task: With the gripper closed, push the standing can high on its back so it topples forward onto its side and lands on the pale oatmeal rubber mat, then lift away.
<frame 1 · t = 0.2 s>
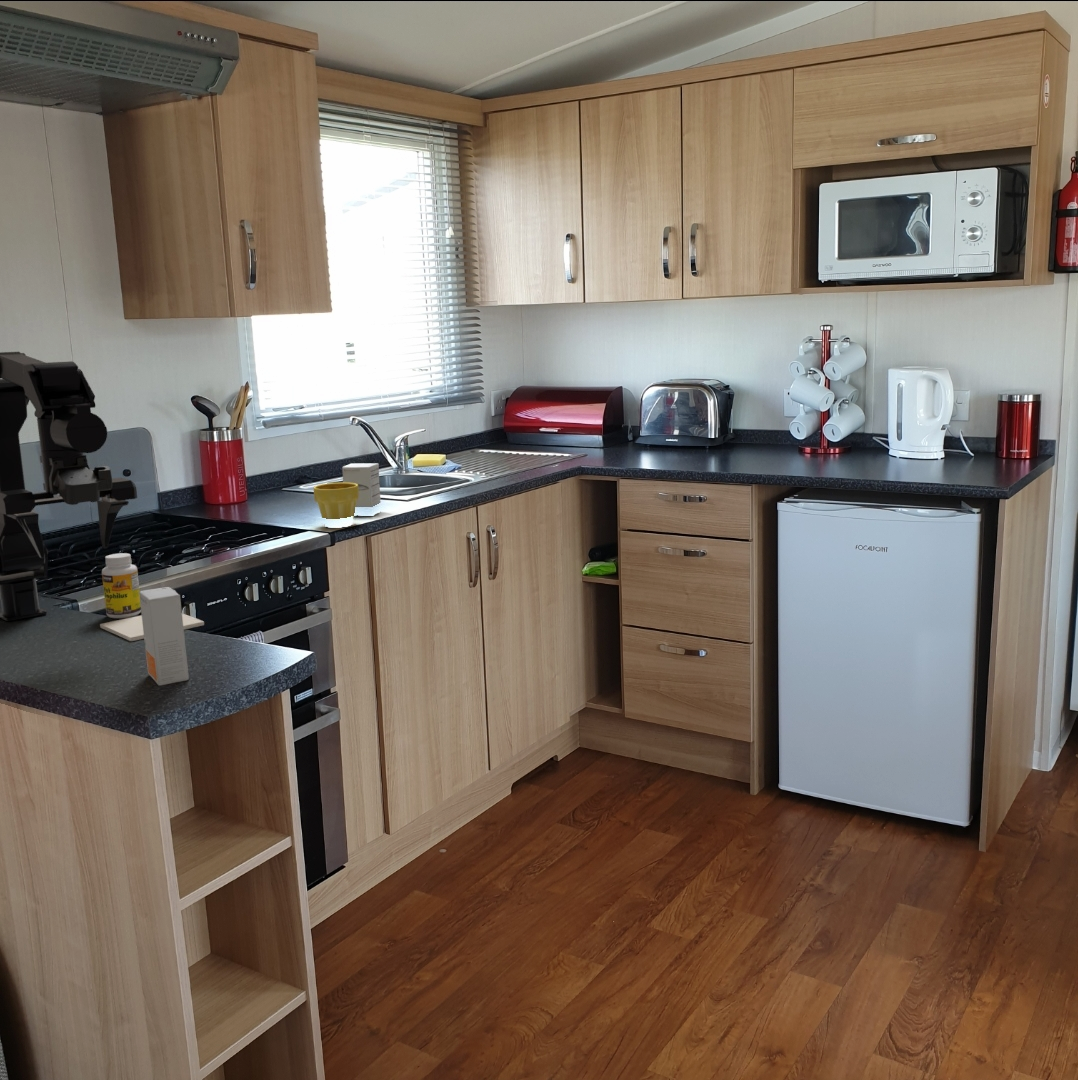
hand: (74, 552, 165), 14 cm above the worktop, fingers open, 9 cm apart
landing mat: (152, 626, 177), on the worktop
supplement bottle: (124, 616, 185), on the worktop
skincare box: (168, 679, 150), on the worktop
supplement box: (363, 515, 276), on the worktop
plant pot: (338, 527, 261), on the worktop
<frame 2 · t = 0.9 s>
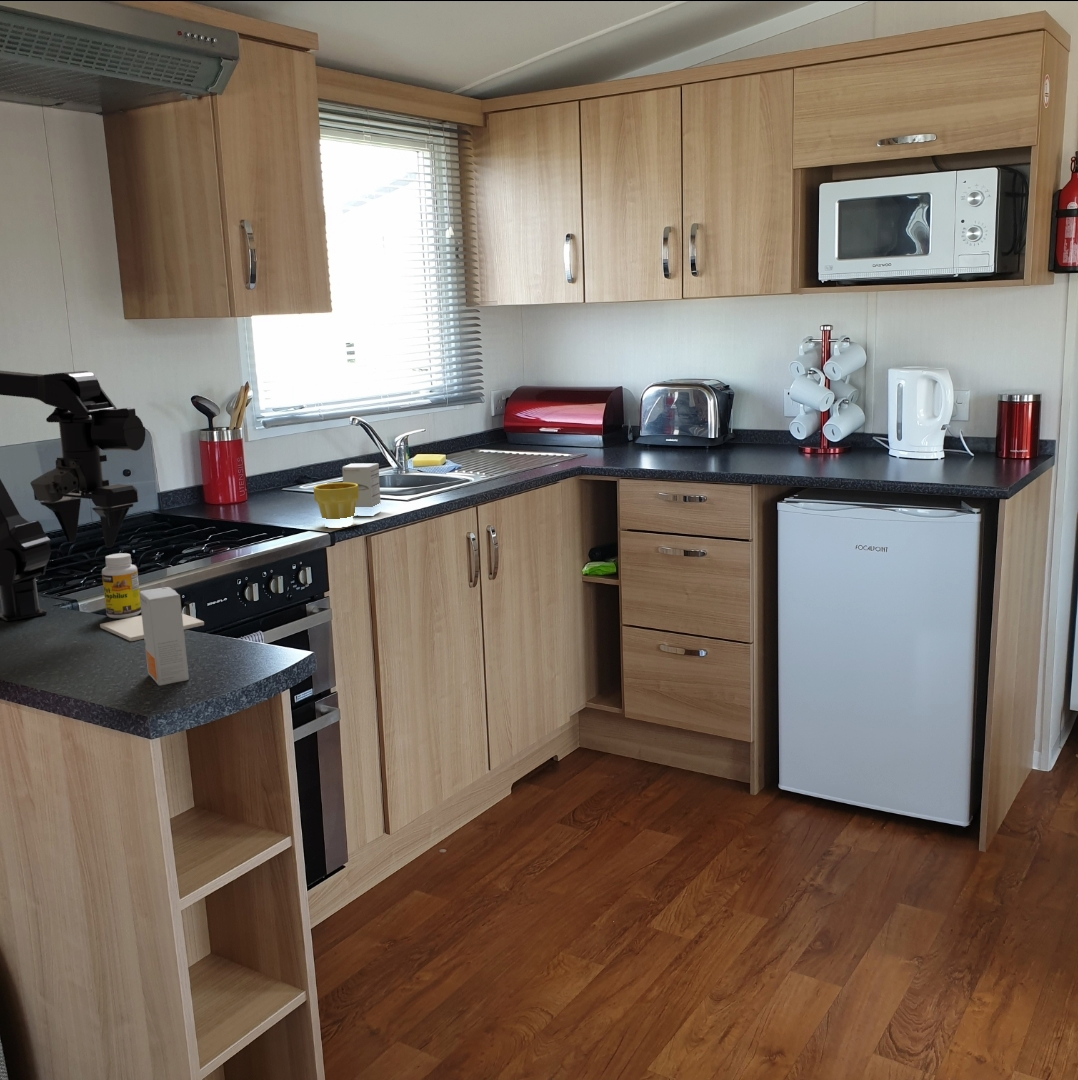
hand: (90, 544, 181), 12 cm above the worktop, fingers open, 9 cm apart
nothing on the worktop moved.
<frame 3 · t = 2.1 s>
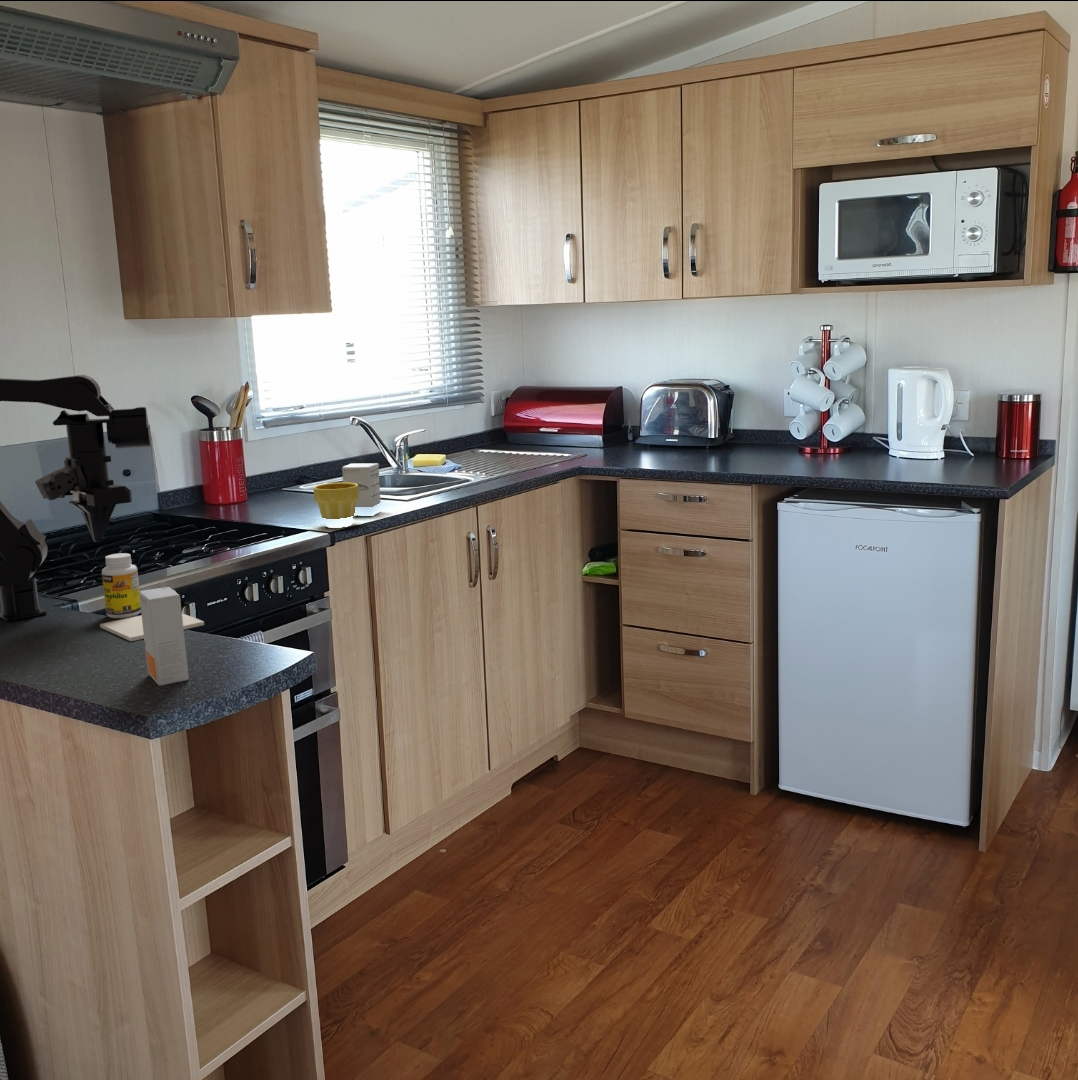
hand: (97, 541, 189), 12 cm above the worktop, fingers closed
nothing on the worktop moved.
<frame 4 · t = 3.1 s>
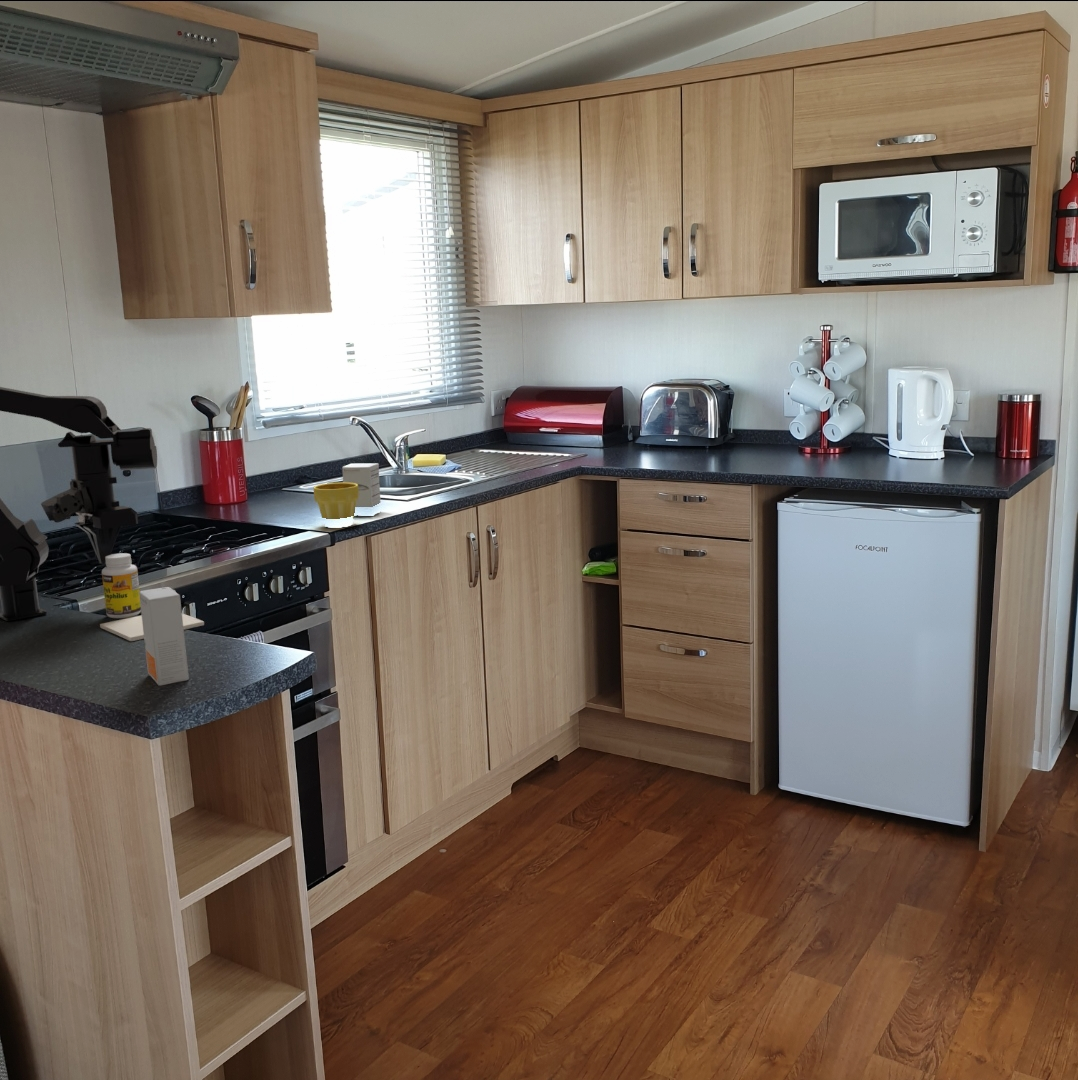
hand: (103, 562, 188), 8 cm above the worktop, fingers closed
nothing on the worktop moved.
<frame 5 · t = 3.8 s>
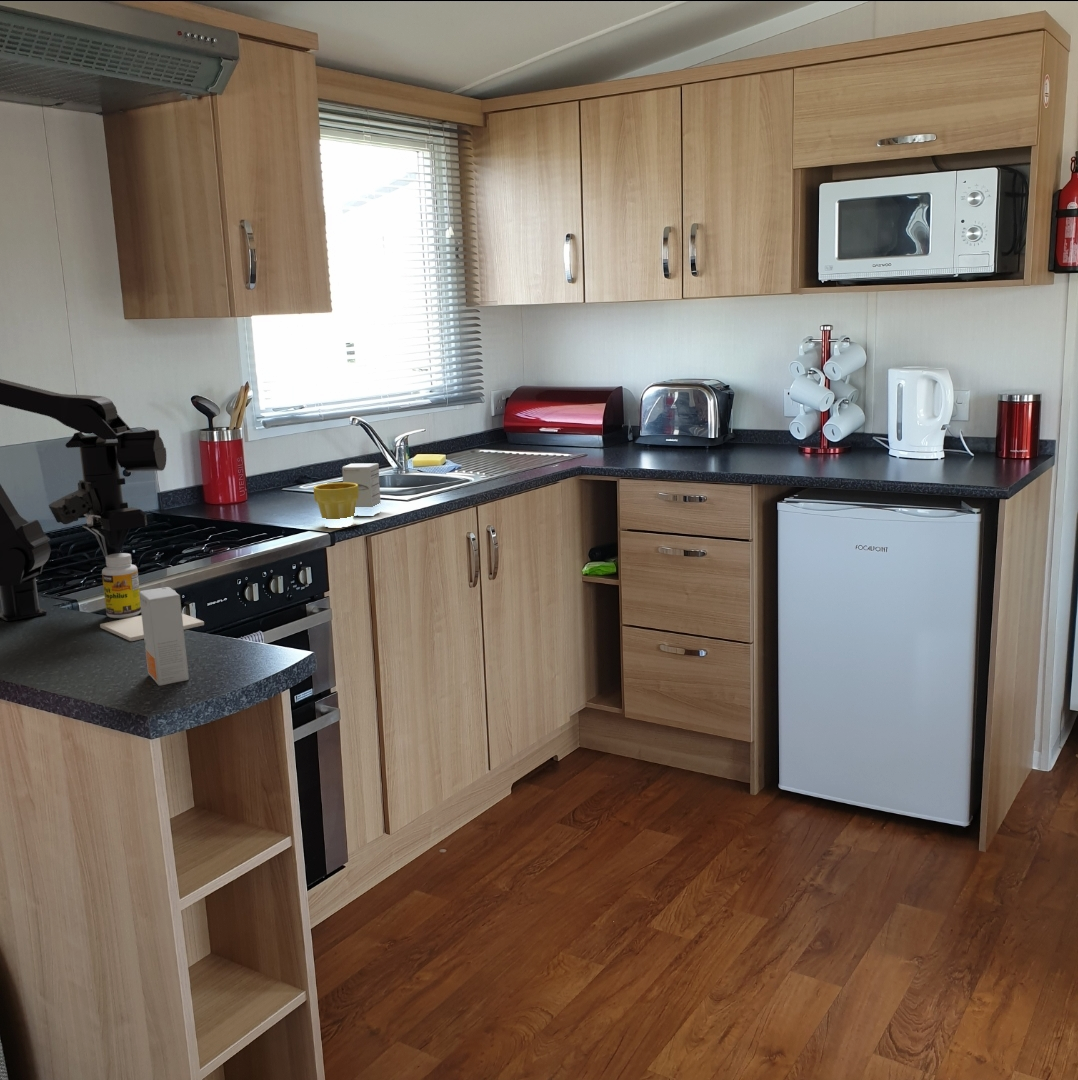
hand: (112, 565, 186), 8 cm above the worktop, fingers closed
supplement bottle: (124, 616, 185), on the worktop, touching gripper
everything else where it was.
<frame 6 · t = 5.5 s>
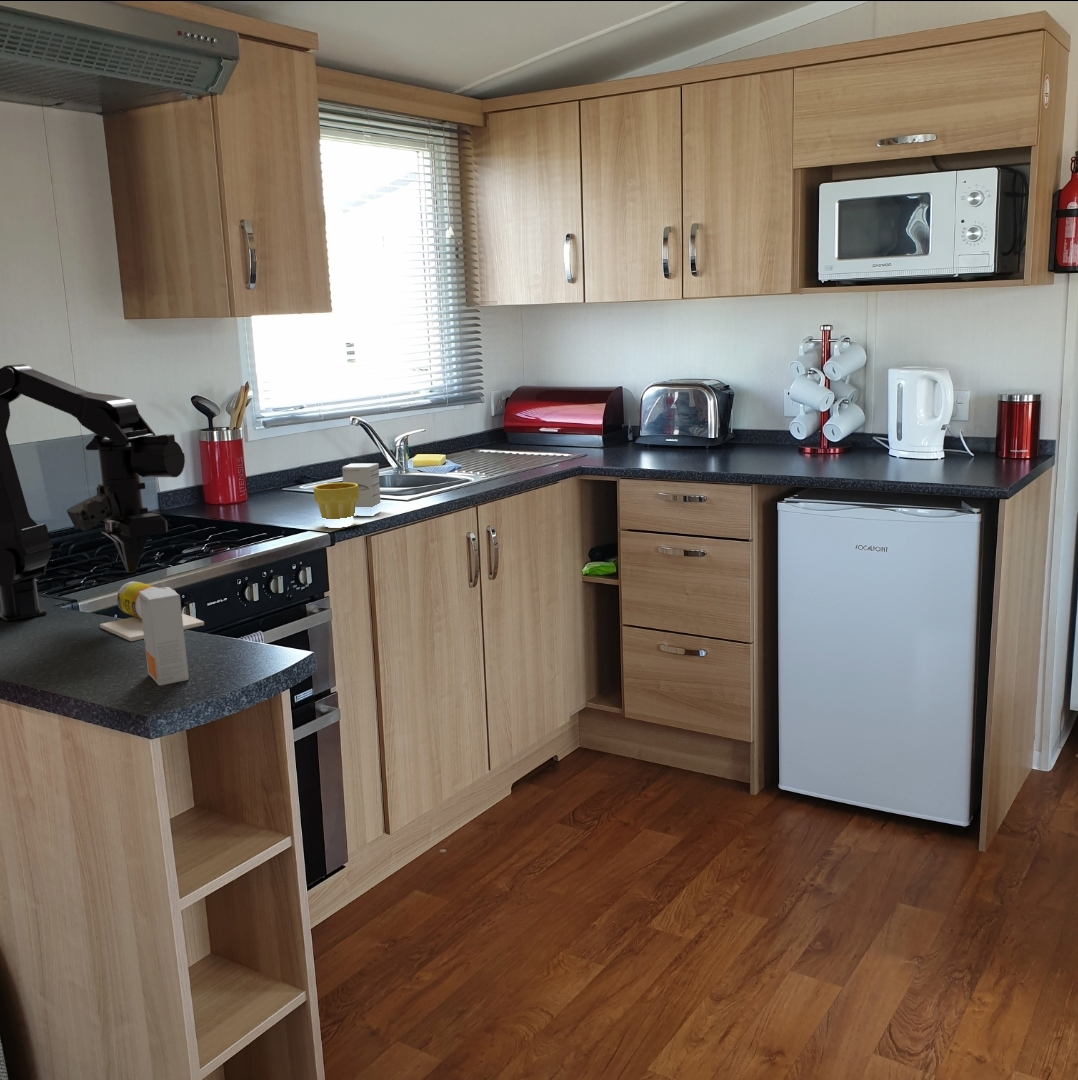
hand: (131, 572, 180), 8 cm above the worktop, fingers closed
supplement bottle: (131, 597, 183), point 3 cm above the worktop, touching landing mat
everything else where it was.
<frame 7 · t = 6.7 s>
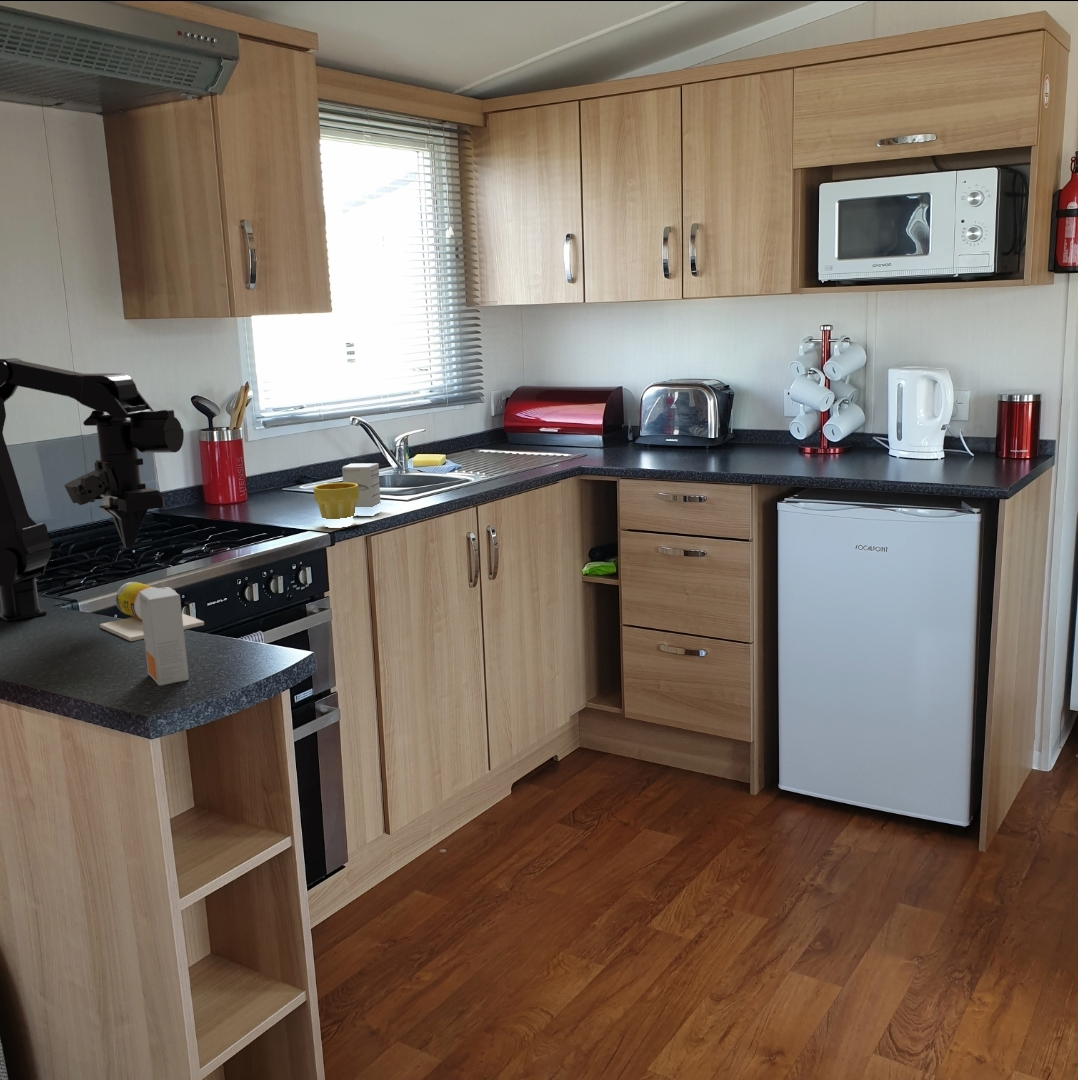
hand: (128, 547, 180), 12 cm above the worktop, fingers closed
nothing on the worktop moved.
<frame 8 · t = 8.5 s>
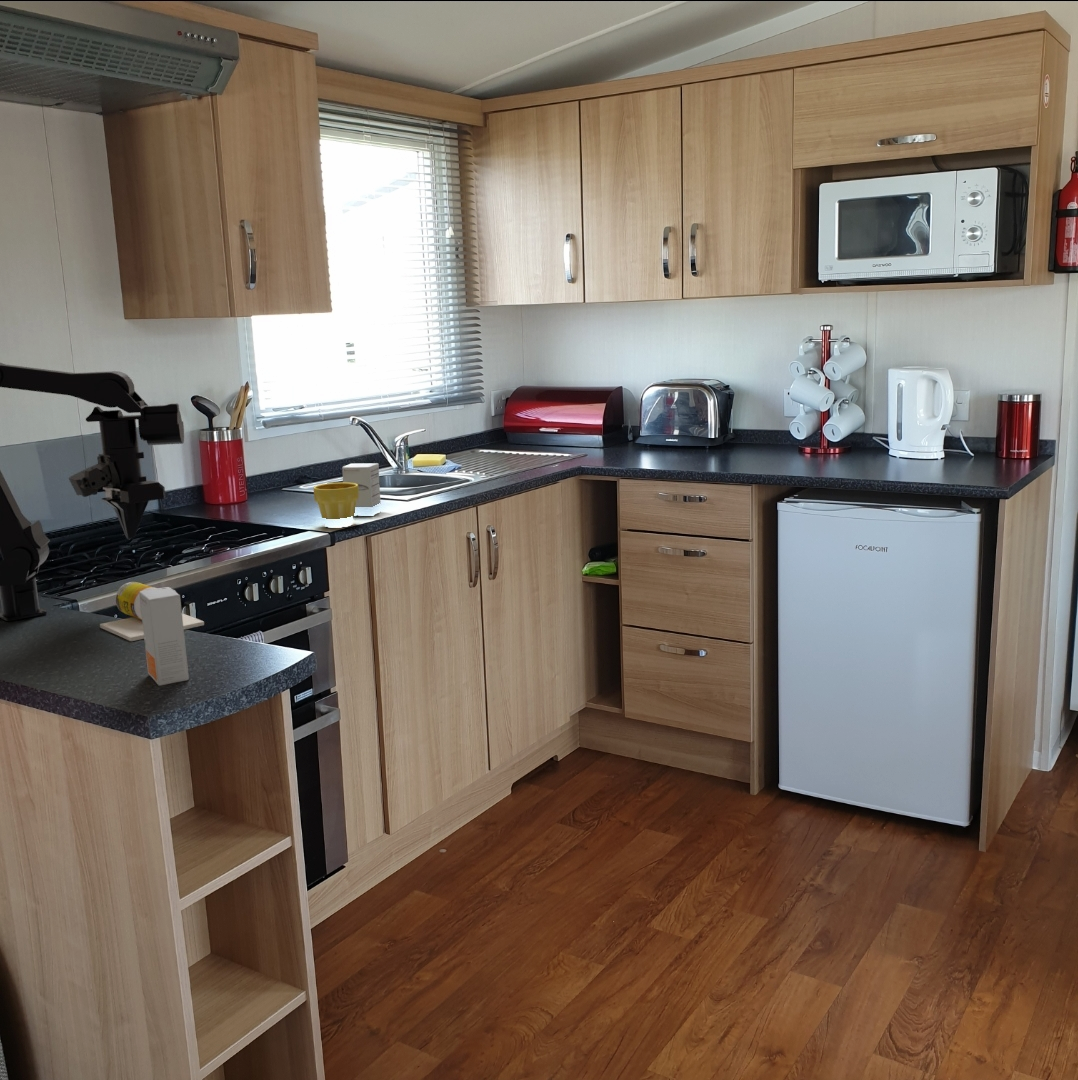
hand: (130, 538, 188), 12 cm above the worktop, fingers closed
nothing on the worktop moved.
at the end: supplement bottle tilted 89°; supplement bottle touching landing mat; supplement bottle inside the target area (6.1 cm from its centre), point 3.3 cm above the worktop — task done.
